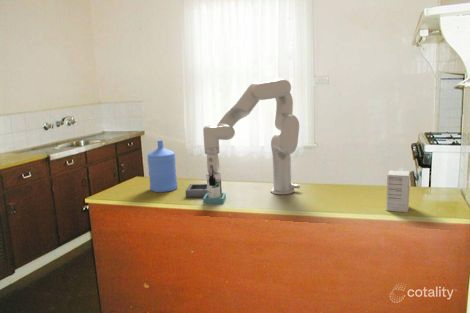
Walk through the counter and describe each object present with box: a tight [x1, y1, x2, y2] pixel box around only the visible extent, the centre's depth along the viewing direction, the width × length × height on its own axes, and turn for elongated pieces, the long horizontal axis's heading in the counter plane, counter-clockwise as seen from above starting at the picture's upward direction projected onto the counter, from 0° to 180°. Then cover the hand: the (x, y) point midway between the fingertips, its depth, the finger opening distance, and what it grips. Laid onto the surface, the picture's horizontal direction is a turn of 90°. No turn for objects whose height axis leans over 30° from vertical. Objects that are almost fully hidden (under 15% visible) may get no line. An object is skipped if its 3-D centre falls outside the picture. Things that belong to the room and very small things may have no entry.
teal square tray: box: [202, 192, 227, 205], centre depth 223 cm, size 10×10×2 cm
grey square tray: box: [185, 183, 208, 199], centre depth 235 cm, size 13×13×4 cm
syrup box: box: [205, 172, 223, 198], centre depth 222 cm, size 6×6×14 cm
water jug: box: [147, 140, 178, 193], centre depth 247 cm, size 16×16×28 cm
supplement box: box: [386, 170, 411, 213], centre depth 196 cm, size 10×9×17 cm
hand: (213, 183), depth 221 cm, fingers open, 9 cm apart
